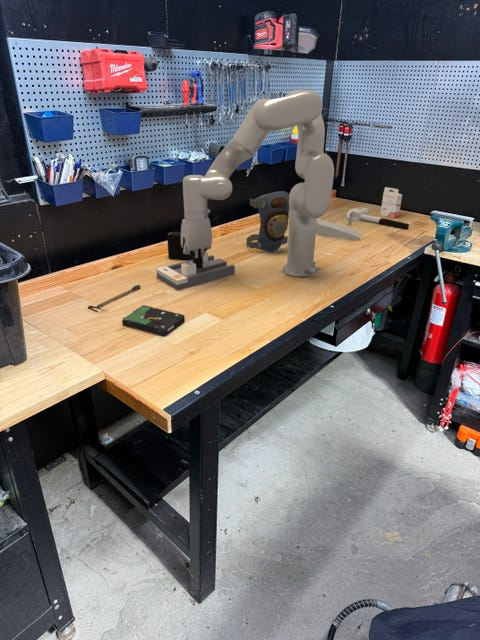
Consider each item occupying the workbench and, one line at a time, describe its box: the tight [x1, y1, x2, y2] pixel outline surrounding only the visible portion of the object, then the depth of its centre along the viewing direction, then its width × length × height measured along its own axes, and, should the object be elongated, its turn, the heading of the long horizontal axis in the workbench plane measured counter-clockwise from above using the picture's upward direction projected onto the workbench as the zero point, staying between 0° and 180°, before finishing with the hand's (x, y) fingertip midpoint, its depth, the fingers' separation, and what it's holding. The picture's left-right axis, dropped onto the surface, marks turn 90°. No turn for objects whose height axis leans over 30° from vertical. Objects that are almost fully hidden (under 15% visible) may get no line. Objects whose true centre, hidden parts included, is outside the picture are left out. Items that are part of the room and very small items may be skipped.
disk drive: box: [121, 304, 186, 337], centre depth 130 cm, size 10×3×15 cm
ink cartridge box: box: [380, 186, 403, 219], centre depth 238 cm, size 9×5×15 cm, turn 43°
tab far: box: [203, 250, 209, 262], centre depth 166 cm, size 3×4×5 cm
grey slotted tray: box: [156, 254, 236, 291], centre depth 162 cm, size 14×24×4 cm, turn 128°
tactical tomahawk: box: [87, 284, 141, 313], centre depth 145 cm, size 21×7×1 cm, turn 145°
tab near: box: [181, 261, 196, 277], centre depth 155 cm, size 3×4×5 cm
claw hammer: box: [345, 207, 410, 231], centre depth 225 cm, size 6×22×30 cm
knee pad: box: [245, 190, 290, 253], centre depth 185 cm, size 18×20×25 cm
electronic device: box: [166, 231, 193, 262], centre depth 177 cm, size 4×10×10 cm, turn 79°
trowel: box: [316, 218, 361, 242], centre depth 210 cm, size 28×16×5 cm, turn 45°
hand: (198, 267), depth 157 cm, fingers closed
